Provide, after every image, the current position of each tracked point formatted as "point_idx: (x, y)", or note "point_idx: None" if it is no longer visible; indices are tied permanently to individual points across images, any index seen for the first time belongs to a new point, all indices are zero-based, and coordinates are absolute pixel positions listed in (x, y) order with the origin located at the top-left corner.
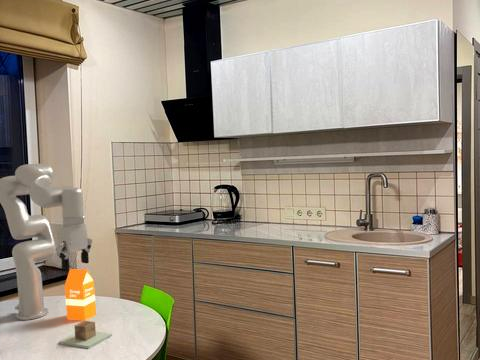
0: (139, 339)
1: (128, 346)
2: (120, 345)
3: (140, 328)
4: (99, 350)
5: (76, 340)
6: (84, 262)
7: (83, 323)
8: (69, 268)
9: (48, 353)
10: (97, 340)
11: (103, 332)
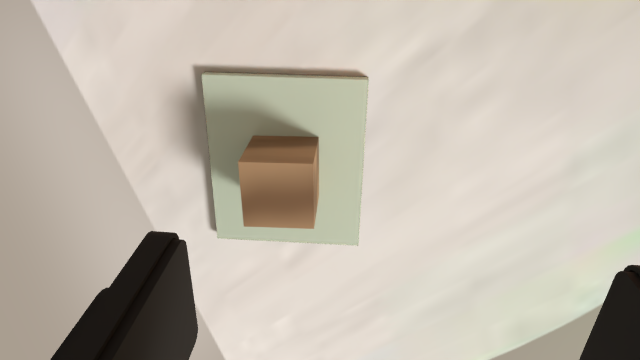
0: (356, 344)
1: (290, 341)
2: (288, 315)
3: (461, 297)
4: (224, 276)
5: (243, 150)
6: (597, 329)
7: (278, 187)
8: (195, 341)
9: (111, 110)
10: (277, 234)
11: (360, 203)
